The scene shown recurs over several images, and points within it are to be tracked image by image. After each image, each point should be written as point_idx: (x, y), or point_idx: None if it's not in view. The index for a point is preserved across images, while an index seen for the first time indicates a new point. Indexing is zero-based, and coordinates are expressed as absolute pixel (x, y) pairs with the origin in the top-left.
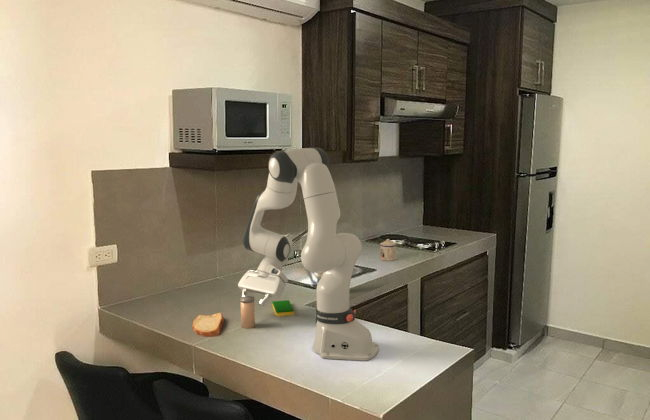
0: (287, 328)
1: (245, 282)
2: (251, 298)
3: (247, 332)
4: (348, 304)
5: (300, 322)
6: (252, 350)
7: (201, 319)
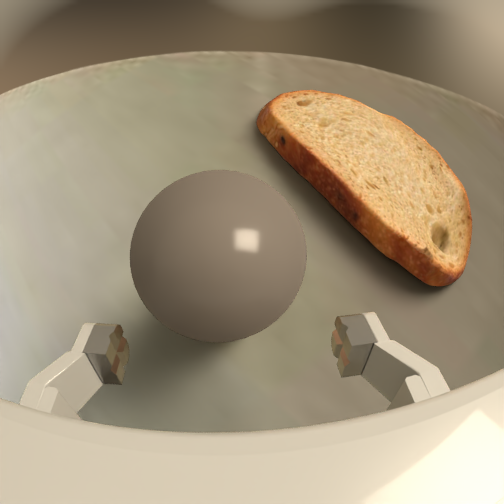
0: None
1: (494, 443)
2: (163, 272)
3: None
4: None
5: None
6: (52, 126)
7: (430, 174)
